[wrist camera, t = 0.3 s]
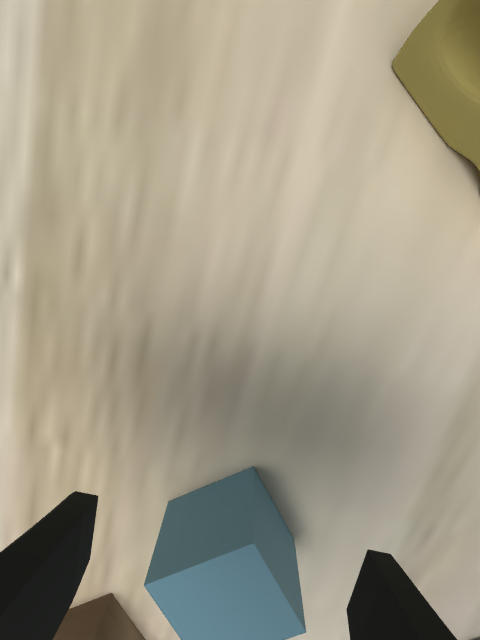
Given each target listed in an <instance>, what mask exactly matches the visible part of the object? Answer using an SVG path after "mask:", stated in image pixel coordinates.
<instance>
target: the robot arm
mask: <svg viewBox="0 0 480 640" xmlns="http://www.w3.org/2000/svg"><path fill="white" fill-rule="evenodd" d="M97 502H98V496H96V495H91V494H86V493H81V492H76V491H75V492H73V493H72V494H70V495H69V496H68V497H67V498H66V499H65V500H63V501H62V502H61V503H60V504H59V505H58V506H56V507H55V508H54V509H53V510H52V511H51V512H49V513H48V514H47V515H46V516H45V517H44V518H42V519H41V520H40V521H39V522H38V523H36V524H35V525H34V526H33V527H32V528H30V529H29V530H28V531H27V532H25V533H24V534H23V535H22V536H20V537H19V538H18V539H17V540H15V541H14V542H13V543H11V544H10V545H9V546H8V547H6V548H5V549H4V550H3V551H1V552H0V640H53V638H54V636H55V634H56V632H57V630H58V628H59V626H60V625H61V623H62V621H63V619H64V617H65V615H66V613H67V611H68V609H69V607H70V605H71V603H72V601H73V599H74V597H75V594H76V592H77V589H78V587H79V585H80V582H81V580H82V577H83V575H84V572H85V570H86V567H87V565H88V562H89V560H90V555H91V547H92V540H93V532H94V525H95V517H96V510H97ZM347 616H348V624H349V632H350V640H457V639H456V638H455V637H454V635H453V634H452V633H451V632H450V630H449V629H448V628H447V626H446V625H445V624H444V623H443V621H442V620H441V619H440V618H439V616H438V615H437V614H436V612H435V611H434V610H433V609H432V607H431V606H430V605H429V603H428V602H427V601H426V599H425V598H424V597H423V596H422V594H421V593H420V592H419V590H418V589H417V588H416V586H415V585H414V584H413V582H412V581H411V580H410V578H409V577H408V576H407V575H406V573H405V572H404V571H403V569H402V568H401V567H400V565H399V564H398V563H397V562H396V560H395V559H394V558H393V557H392V555H391V554H388V553H383V552H378V551H373V550H367V553H366V556H365V559H364V562H363V564H362V567H361V570H360V573H359V576H358V579H357V581H356V584H355V587H354V590H353V593H352V596H351V598H350V601H349V604H348V607H347Z"/></svg>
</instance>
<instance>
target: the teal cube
mask: <svg viewBox="0 0 480 640" xmlns="http://www.w3.org/2000/svg"><path fill="white" fill-rule="evenodd" d="M144 586H145V588H146V589H147V591H148V592H149V594H150V595H151V597H152V598H153V599H154V601H155V602H156V604H157V605H158V607H159V608H160V610H161V611H162V612H163V614H164V615H165V617H166V618H167V620H168V621H169V623H170V624H171V626H172V627H173V628H174V630H175V631H176V633H177V634H178V636H179V637H180V639H181V640H285V639H288V638H291V637H294V636H297V635H300V634H303V633H306V628H305V620H304V612H303V604H302V596H301V589H300V581H299V573H298V565H297V558H296V550H295V542H294V538H293V536H292V535H291V533H290V531H289V529H288V528H287V526H286V524H285V522H284V520H283V519H282V517H281V515H280V513H279V511H278V510H277V508H276V506H275V504H274V502H273V501H272V499H271V497H270V495H269V493H268V492H267V490H266V488H265V486H264V484H263V483H262V481H261V479H260V477H259V475H258V474H257V472H256V470H255V468H254V467H251V468H248V469H246V470H243V471H241V472H239V473H236V474H234V475H231V476H229V477H226V478H224V479H222V480H219V481H217V482H214V483H212V484H210V485H207V486H205V487H202V488H200V489H197V490H195V491H193V492H190V493H188V494H185V495H183V496H181V497H178V498H176V499H173V500H171V501H168V505H167V508H166V512H165V515H164V519H163V522H162V525H161V529H160V532H159V536H158V539H157V542H156V546H155V549H154V553H153V556H152V559H151V563H150V566H149V570H148V573H147V576H146V580H145V583H144Z"/></svg>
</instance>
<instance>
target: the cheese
mask: <svg viewBox="0 0 480 640" xmlns="http://www.w3.org/2000/svg"><path fill="white" fill-rule="evenodd" d="M392 67H393V69H394V71H395V73H396V74H397V76H398V77H399V79H400V80H401V82H402V83H403V84H404V86H405V87H406V89H407V90H408V91H409V93H410V94H411V96H412V97H413V99H414V100H415V101H416V103H417V104H418V106H419V107H420V109H421V110H422V111H423V113H424V114H425V115H426V117H427V118H428V119H429V121H430V122H431V124H432V125H433V126H434V128H435V129H436V130H437V132H438V133H439V134H440V135H441V137H442V138H443V139H444V140H445V142H446V143H447V144H448V146H450V147H451V148H453V149H454V150H456V151H457V152H458V153H460V154H461V155H463V156H464V157H466V158H468V159H469V160H470V161H472V162H473V163H474V164H475V165H476V167H477V168H478V170H479V171H480V0H439V1H438V2H437V3H436V4H435V6H434V7H433V8H432V9H431V10H430V11H429V12H428V13H427V15H426V16H425V17H424V18H423V19H422V20H421V22H420V23H419V24H418V25H417V27H416V28H415V29H414V31H413V32H412V33H411V35H410V36H409V38H408V39H407V41H406V42H405V44H404V45H403V47H402V48H401V50H400V51H399V53H398V55H397V56H396V58H395V59H394V61H393V63H392Z"/></svg>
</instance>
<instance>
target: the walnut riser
mask: <svg viewBox="0 0 480 640" xmlns="http://www.w3.org/2000/svg"><path fill="white" fill-rule="evenodd" d="M53 640H145V639H144V637H143V636H142V634H141V633H140V632H139V630H138V629H137V628H136V626H135V625H134V623H133V622H132V621H131V619H130V618H129V616H128V615H127V614H126V612H125V611H124V609H123V608H122V607H121V605H120V604H119V603H118V601H117V600H116V598H115V597H114V596H113V594H112V593H110V594H107V595H105V596H102V597H99V598H97V599H94V600H92V601H89V602H87V603H84V604H81V605H79V606H76V607H74V608H71V609H68V611H67V613H66V615H65V617H64V619H63V621H62V623H61V625H60V626H59V628H58V630H57V632H56V634H55V636H54V638H53Z"/></svg>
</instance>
